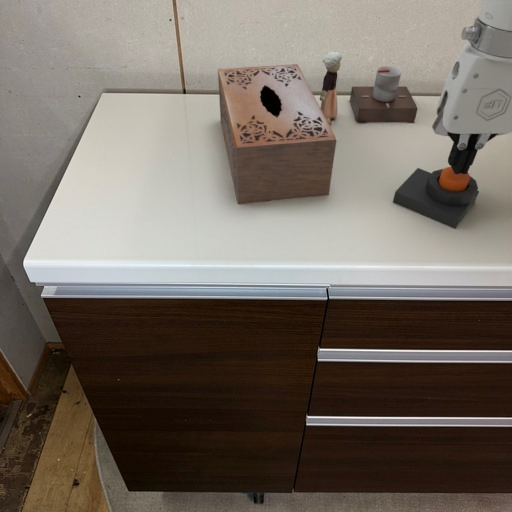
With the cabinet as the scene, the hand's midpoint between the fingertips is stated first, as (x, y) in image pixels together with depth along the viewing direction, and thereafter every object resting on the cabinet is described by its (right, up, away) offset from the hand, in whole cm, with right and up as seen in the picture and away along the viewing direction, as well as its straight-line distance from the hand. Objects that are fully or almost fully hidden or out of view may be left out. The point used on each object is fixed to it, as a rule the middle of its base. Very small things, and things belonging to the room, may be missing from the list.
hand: (457, 168), depth 68 cm
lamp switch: (0, -2, +2) cm, 3 cm away
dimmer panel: (-4, +16, +25) cm, 30 cm away
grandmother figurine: (-16, +14, +23) cm, 31 cm away
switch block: (-2, -4, +5) cm, 7 cm away
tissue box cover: (-27, +5, +14) cm, 31 cm away
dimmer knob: (-4, +18, +23) cm, 30 cm away
